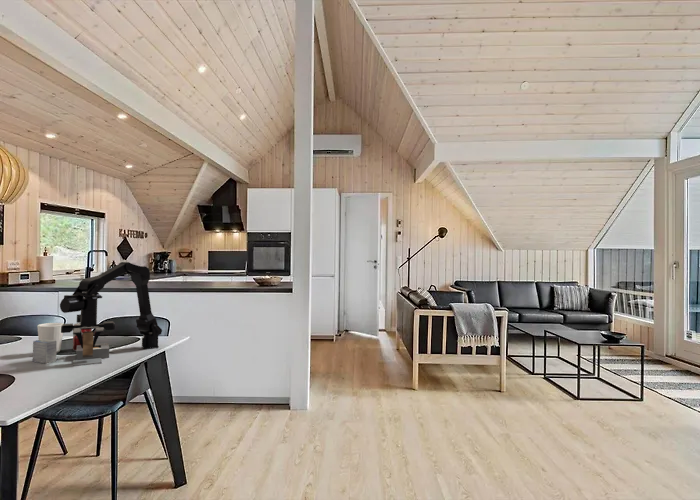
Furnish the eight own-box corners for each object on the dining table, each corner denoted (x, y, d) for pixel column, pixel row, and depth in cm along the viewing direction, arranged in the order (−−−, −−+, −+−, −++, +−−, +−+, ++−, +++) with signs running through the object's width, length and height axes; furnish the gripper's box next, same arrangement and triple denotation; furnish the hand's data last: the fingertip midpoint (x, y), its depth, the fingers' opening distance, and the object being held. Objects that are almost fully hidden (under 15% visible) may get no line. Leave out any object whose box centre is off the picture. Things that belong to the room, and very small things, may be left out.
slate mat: (101, 358, 182) (101, 357, 182) (101, 363, 175) (101, 362, 175) (73, 361, 177) (73, 360, 177) (72, 366, 170) (72, 365, 170)
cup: (49, 356, 184) (50, 326, 184) (30, 354, 186) (31, 325, 186) (68, 351, 194) (69, 323, 194) (50, 350, 196) (51, 322, 196)
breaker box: (107, 351, 195) (108, 342, 195) (109, 357, 184) (109, 348, 184) (76, 354, 188) (76, 345, 188) (76, 360, 178) (76, 350, 178)
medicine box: (56, 361, 177) (57, 340, 177) (45, 363, 172) (46, 342, 172) (43, 359, 179) (43, 338, 179) (32, 361, 175) (32, 340, 175)
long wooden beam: (92, 355, 178) (93, 331, 179) (92, 356, 175) (93, 332, 176) (82, 355, 177) (83, 331, 177) (82, 357, 174) (83, 333, 174)
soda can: (82, 351, 194) (83, 325, 194) (68, 350, 195) (69, 324, 195) (94, 348, 201) (95, 322, 201) (81, 347, 202) (82, 322, 202)
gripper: (113, 306, 188) (112, 342, 188) (62, 308, 178) (61, 346, 178) (115, 309, 179) (114, 347, 178) (61, 312, 169) (60, 351, 169)
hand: (87, 347), depth 176 cm, fingers closed on long wooden beam, 3 cm apart
